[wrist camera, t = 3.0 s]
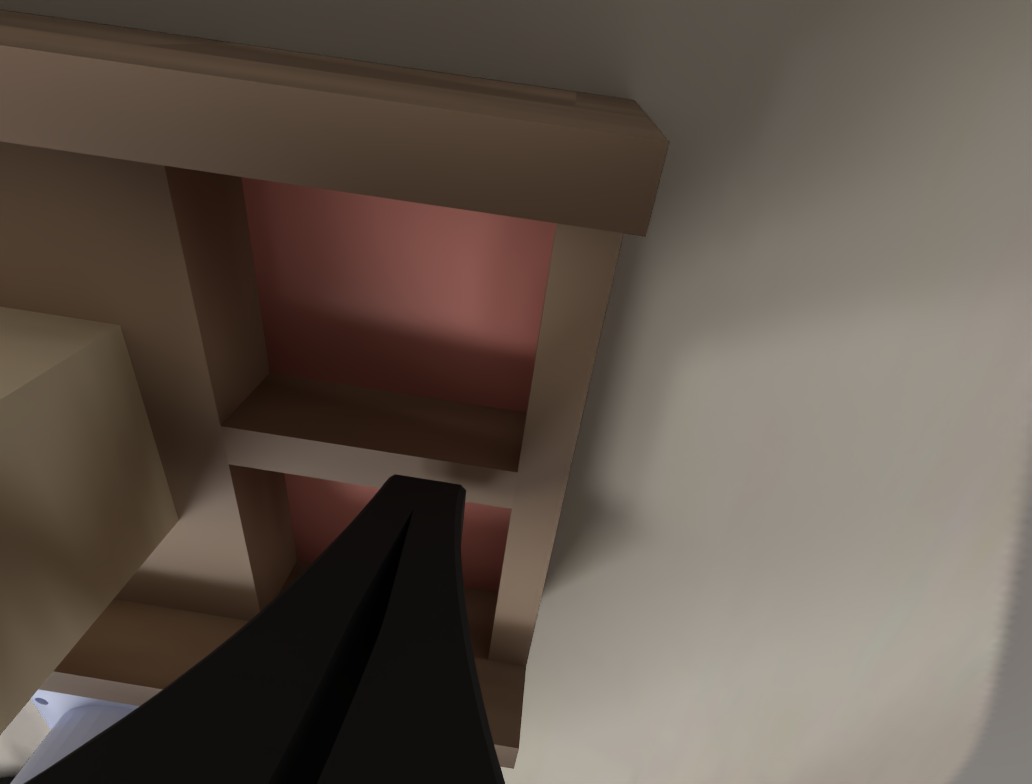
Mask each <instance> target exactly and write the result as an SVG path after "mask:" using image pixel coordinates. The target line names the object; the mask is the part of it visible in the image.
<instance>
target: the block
mask: <svg viewBox="0 0 1032 784" xmlns="http://www.w3.org/2000/svg"><path fill="white" fill-rule="evenodd" d="M178 521H179V519H178V516H177V513H176V509H175V506H174V503H173V499H172V496H171V493H170V489H169V486H168V483H167V479H166V476H165V473H164V469H163V466H162V463H161V460H160V456H159V453H158V450H157V446H156V443H155V440H154V436H153V433H152V430H151V426H150V423H149V420H148V416H147V413H146V410H145V406H144V403H143V400H142V396H141V393H140V390H139V386H138V383H137V380H136V376H135V373H134V370H133V366H132V363H131V360H130V357H129V353H128V350H127V347H126V343H125V340H124V337H123V333H122V330H121V327H120V325H117V324H110V323H104V322H97V321H91V320H84V319H78V318H71V317H65V316H58V315H51V314H45V313H38V312H32V311H25V310H19V309H12V308H6V307H0V735H1V733H2V732H3V731H4V730H5V729H6V727H7V726H8V725H9V724H10V723H11V721H12V720H13V719H14V718H15V717H16V715H17V714H18V713H19V712H20V711H21V709H22V708H23V707H24V706H25V705H26V703H27V702H28V701H29V700H30V699H31V697H32V696H33V695H34V694H35V693H36V691H37V690H38V689H39V688H40V687H41V685H42V684H43V683H44V682H45V681H46V679H47V678H48V677H49V676H50V675H51V673H52V672H53V671H54V670H55V669H56V667H57V666H58V665H59V664H60V663H61V661H62V660H63V659H64V658H65V657H66V655H67V654H68V653H69V652H70V651H71V649H72V648H73V647H74V646H75V645H76V643H77V642H78V641H79V640H80V639H81V637H82V636H83V635H84V634H85V633H86V631H87V630H88V629H89V628H90V627H91V625H92V624H93V623H94V622H95V621H96V619H97V618H98V617H99V616H100V615H101V613H102V612H103V611H104V610H105V609H106V607H107V606H108V605H109V604H110V603H111V601H112V600H113V599H114V598H115V597H116V595H117V594H118V593H119V592H120V591H121V589H122V588H123V587H124V586H125V585H126V583H127V582H128V581H129V580H130V579H131V577H132V576H133V575H134V574H135V573H136V571H137V570H138V569H139V568H140V567H141V565H142V564H143V563H144V562H145V561H146V559H147V558H148V557H149V556H150V555H151V553H152V552H153V551H154V550H155V549H156V547H157V546H158V545H159V544H160V543H161V541H162V540H163V539H164V538H165V537H166V535H167V534H168V533H169V532H170V531H171V529H172V528H173V527H174V526H175V525H176V523H177V522H178Z"/></svg>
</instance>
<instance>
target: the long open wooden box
mask: <svg viewBox="0 0 1032 784" xmlns="http://www.w3.org/2000/svg"><path fill="white" fill-rule="evenodd" d="M668 144H669V141H668V139H667V138H666V137H665V136H664V135H663V133H662V132H661V131H660V130H659V129H658V128H657V126H656V125H655V124H654V123H653V122H652V120H651V119H650V118H649V117H648V116H647V115H646V113H645V112H644V111H643V110H642V109H641V108H640V106H639V105H638V104H637V103H636V102H635V100H629V99H622V98H615V97H608V96H601V95H594V94H587V93H580V92H573V91H566V90H559V89H552V88H545V87H538V86H531V85H524V84H517V83H510V82H503V81H496V80H489V79H482V78H475V77H468V76H461V75H454V74H447V73H440V72H433V71H426V70H419V69H412V68H405V67H398V66H391V65H384V64H377V63H370V62H363V61H356V60H349V59H342V58H335V57H328V56H321V55H314V54H307V53H300V52H293V51H286V50H279V49H272V48H265V47H258V46H251V45H244V44H237V43H230V42H223V41H216V40H209V39H202V38H195V37H188V36H181V35H174V34H167V33H160V32H153V31H146V30H139V29H132V28H125V27H118V26H111V25H104V24H97V23H90V22H83V21H76V20H69V19H62V18H55V17H48V16H41V15H34V14H27V13H20V12H13V11H6V10H0V307H6V308H12V309H19V310H25V311H32V312H38V313H45V314H51V315H58V316H65V317H71V318H78V319H84V320H91V321H97V322H104V323H110V324H117V325H120V327H121V330H122V333H123V337H124V340H125V343H126V347H127V350H128V353H129V357H130V360H131V363H132V366H133V370H134V373H135V376H136V380H137V383H138V386H139V390H140V393H141V396H142V400H143V403H144V406H145V410H146V413H147V416H148V420H149V423H150V426H151V430H152V433H153V436H154V440H155V443H156V446H157V450H158V453H159V456H160V460H161V463H162V466H163V469H164V473H165V476H166V479H167V483H168V486H169V489H170V493H171V496H172V499H173V503H174V506H175V509H176V513H177V516H178V519H179V521H178V522H177V523H176V525H175V526H174V527H173V528H172V529H171V531H170V532H169V533H168V534H167V535H166V537H165V538H164V539H163V540H162V541H161V543H160V544H159V545H158V546H157V547H156V549H155V550H154V551H153V552H152V553H151V555H150V556H149V557H148V558H147V559H146V561H145V562H144V563H143V564H142V565H141V567H140V568H139V569H138V570H137V571H136V573H135V574H134V575H133V576H132V577H131V579H130V580H129V581H128V582H127V583H126V585H125V586H124V587H123V588H122V589H121V591H120V592H119V593H118V594H117V595H116V597H115V598H114V599H113V600H112V601H111V603H110V604H109V605H108V606H107V607H106V609H105V610H104V611H103V612H102V613H101V615H100V616H99V617H98V618H97V619H96V621H95V622H94V623H93V624H92V625H91V627H90V628H89V629H88V630H87V631H86V633H85V634H84V635H83V636H82V637H81V639H80V640H79V641H78V642H77V643H76V645H75V646H74V647H73V648H72V649H71V651H70V652H69V653H68V654H67V655H66V657H65V658H64V659H63V660H62V661H61V663H60V664H59V665H58V666H57V667H56V669H55V670H54V671H53V672H52V673H51V675H50V676H49V677H48V678H47V679H46V681H45V682H44V683H43V684H42V685H41V687H40V688H39V690H45V691H51V692H57V693H63V694H69V695H75V696H81V697H87V698H93V699H99V700H105V701H111V702H117V703H123V704H129V705H135V706H141V705H142V704H144V703H145V702H146V701H148V700H149V699H150V698H152V697H153V696H155V695H156V694H157V693H159V692H160V691H161V690H163V689H164V688H165V687H167V686H168V685H169V684H171V683H172V682H173V681H175V680H176V679H177V678H179V677H180V676H181V675H183V674H184V673H185V672H187V671H188V670H189V669H190V668H192V667H193V666H194V665H196V664H197V663H198V662H200V661H201V660H202V659H204V658H205V657H206V656H208V655H209V654H210V653H211V652H213V651H214V650H215V649H216V648H218V647H219V646H220V645H221V644H222V643H224V642H225V641H226V640H227V639H228V638H230V637H231V636H232V635H233V634H235V633H236V632H237V631H238V630H239V629H241V628H242V627H243V626H244V625H245V624H247V623H248V622H249V621H250V620H251V619H252V618H254V617H255V616H256V615H257V614H258V613H259V612H260V611H261V610H263V609H264V608H265V607H266V606H267V605H268V604H269V603H271V602H272V601H273V600H274V599H275V598H276V597H277V596H278V595H279V594H280V593H281V592H282V591H283V590H284V589H285V588H287V587H288V586H289V585H290V584H291V583H292V582H293V581H294V580H295V579H296V578H297V577H298V576H299V575H300V574H301V573H302V572H304V571H305V570H306V569H307V568H308V567H309V566H310V565H311V564H312V563H313V562H314V561H315V560H316V559H317V558H318V557H319V556H320V555H321V554H322V553H323V552H324V550H325V549H326V548H327V547H328V546H329V545H330V544H331V543H332V542H333V541H334V540H335V539H336V538H337V537H338V536H339V535H340V534H341V533H342V532H343V531H344V530H345V529H346V527H347V526H348V525H349V524H350V523H351V522H352V521H353V520H354V519H355V517H356V516H357V515H358V514H359V513H360V512H361V511H362V510H363V508H364V507H365V506H366V505H367V504H368V503H369V501H370V500H371V499H372V498H373V497H374V496H375V494H376V493H377V492H378V491H379V489H380V488H381V487H382V486H383V484H384V483H385V482H386V481H387V479H388V478H389V477H391V476H393V475H394V474H397V475H403V476H409V477H416V478H422V479H428V480H435V481H441V482H448V483H454V484H460V485H462V486H463V487H464V489H465V490H466V499H465V510H464V521H463V531H462V542H461V559H462V571H463V583H464V594H465V602H466V610H467V617H468V623H469V630H470V636H471V642H472V648H473V654H474V659H475V664H476V669H477V674H478V679H479V684H480V688H481V693H482V697H483V702H484V706H485V710H486V714H487V718H488V723H489V727H490V731H491V735H492V739H493V743H494V746H495V750H496V753H497V757H498V761H499V764H500V766H501V767H507V768H513V769H514V765H515V761H516V757H517V753H518V749H519V740H520V728H521V717H522V705H523V694H524V683H525V671H526V664H527V659H528V655H529V650H530V646H531V641H532V637H533V633H534V628H535V624H536V619H537V615H538V610H539V606H540V601H541V597H542V593H543V588H544V584H545V579H546V575H547V570H548V566H549V562H550V557H551V553H552V548H553V544H554V539H555V535H556V530H557V526H558V522H559V517H560V513H561V508H562V504H563V499H564V495H565V490H566V486H567V482H568V477H569V473H570V468H571V464H572V459H573V455H574V450H575V446H576V442H577V437H578V433H579V428H580V424H581V419H582V415H583V410H584V406H585V402H586V397H587V393H588V388H589V384H590V379H591V375H592V370H593V366H594V362H595V357H596V353H597V348H598V344H599V339H600V335H601V330H602V326H603V322H604V317H605V313H606V308H607V304H608V299H609V295H610V291H611V286H612V282H613V277H614V273H615V268H616V264H617V259H618V255H619V251H620V246H621V242H622V237H623V233H625V234H632V235H639V236H646V233H647V229H648V225H649V221H650V217H651V213H652V209H653V205H654V201H655V197H656V193H657V189H658V185H659V181H660V177H661V173H662V169H663V165H664V161H665V157H666V152H667V148H668Z"/></svg>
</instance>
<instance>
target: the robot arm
mask: <svg viewBox="0 0 1032 784" xmlns="http://www.w3.org/2000/svg"><path fill="white" fill-rule="evenodd" d="M465 499H466V490H465V489H464V487H463V486H462V485H460V484H454V483H448V482H441V481H435V480H428V479H422V478H416V477H409V476H403V475H397V474H394V475H393V476H391V477H389V478H388V479H387V481H386V482H385V483H384V484H383V486H382V487H381V488H380V489H379V491H378V492H377V493H376V494H375V496H374V497H373V498H372V499H371V500H370V501H369V503H368V504H367V505H366V506H365V507H364V508H363V510H362V511H361V512H360V513H359V514H358V515H357V516H356V517H355V519H354V520H353V521H352V522H351V523H350V524H349V525H348V526H347V527H346V529H345V530H344V531H343V532H342V533H341V534H340V535H339V536H338V537H337V538H336V539H335V540H334V541H333V542H332V543H331V544H330V545H329V546H328V547H327V548H326V549H325V550H324V552H323V553H322V554H321V555H320V556H319V557H318V558H317V559H316V560H315V561H314V562H313V563H312V564H311V565H310V566H309V567H308V568H307V569H306V570H305V571H304V572H302V573H301V574H300V575H299V576H298V577H297V578H296V579H295V580H294V581H293V582H292V583H291V584H290V585H289V586H288V587H287V588H285V589H284V590H283V591H282V592H281V593H280V594H279V595H278V596H277V597H276V598H275V599H274V600H273V601H272V602H271V603H269V604H268V605H267V606H266V607H265V608H264V609H263V610H261V611H260V612H259V613H258V614H257V615H256V616H255V617H254V618H252V619H251V620H250V621H249V622H248V623H247V624H245V625H244V626H243V627H242V628H241V629H239V630H238V631H237V632H236V633H235V634H233V635H232V636H231V637H230V638H228V639H227V640H226V641H225V642H224V643H222V644H221V645H220V646H219V647H218V648H216V649H215V650H214V651H213V652H211V653H210V654H209V655H208V656H206V657H205V658H204V659H202V660H201V661H200V662H198V663H197V664H196V665H194V666H193V667H192V668H190V669H189V670H188V671H187V672H185V673H184V674H183V675H181V676H180V677H179V678H177V679H176V680H175V681H173V682H172V683H171V684H169V685H168V686H167V687H165V688H164V689H163V690H161V691H160V692H159V693H157V694H156V695H155V696H153V697H152V698H150V699H149V700H148V701H146V702H145V703H144V704H142V705H141V706H135V705H129V704H123V703H117V702H111V701H105V700H99V699H93V698H87V697H81V696H75V695H69V694H63V693H57V692H51V691H45V690H39V689H38V690H37V691H36V693H35V694H34V695H33V696H32V697H31V701H32V702H33V704H34V705H35V706H36V708H37V709H38V711H39V712H40V714H41V715H42V717H43V718H44V720H45V721H46V723H47V724H48V726H49V727H50V729H51V731H50V732H49V734H48V735H47V736H46V738H45V739H44V740H43V741H42V743H41V744H40V745H39V747H38V748H37V749H36V751H35V752H34V753H33V755H32V756H31V757H30V758H29V760H28V761H27V762H26V764H25V765H24V766H23V768H22V769H21V770H20V772H19V773H18V774H17V775H16V777H15V778H14V779H13V781H12V782H11V783H10V784H505V782H504V778H503V775H502V771H501V768H500V764H499V761H498V757H497V753H496V750H495V746H494V743H493V739H492V735H491V731H490V727H489V723H488V718H487V714H486V710H485V706H484V702H483V697H482V693H481V688H480V684H479V679H478V674H477V669H476V664H475V659H474V654H473V648H472V642H471V636H470V630H469V623H468V617H467V610H466V602H465V594H464V583H463V571H462V559H461V542H462V531H463V521H464V510H465Z"/></svg>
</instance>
